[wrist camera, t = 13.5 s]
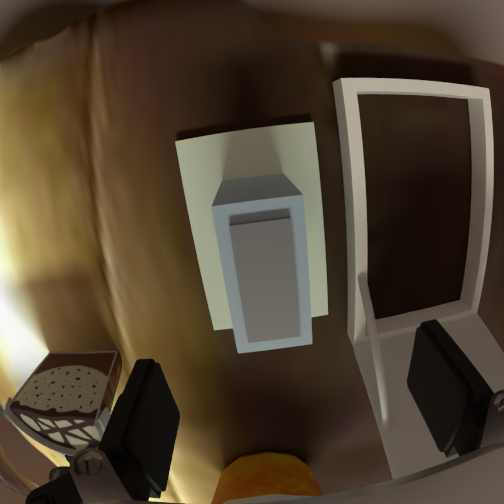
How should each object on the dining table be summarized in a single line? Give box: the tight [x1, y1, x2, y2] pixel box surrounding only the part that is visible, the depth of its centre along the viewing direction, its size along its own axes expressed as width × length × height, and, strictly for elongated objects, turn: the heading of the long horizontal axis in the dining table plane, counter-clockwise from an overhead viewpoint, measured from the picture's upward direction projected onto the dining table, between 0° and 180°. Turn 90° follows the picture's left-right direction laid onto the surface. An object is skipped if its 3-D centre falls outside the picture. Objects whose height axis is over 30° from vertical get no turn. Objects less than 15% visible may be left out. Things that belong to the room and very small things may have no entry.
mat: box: [175, 122, 328, 330], centre depth 25 cm, size 10×16×1 cm, turn 8°
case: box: [332, 78, 504, 479], centre depth 17 cm, size 14×26×18 cm, turn 8°
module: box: [211, 173, 312, 353], centre depth 21 cm, size 4×9×8 cm, turn 7°
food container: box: [4, 350, 122, 456], centre depth 26 cm, size 12×6×10 cm, turn 98°
